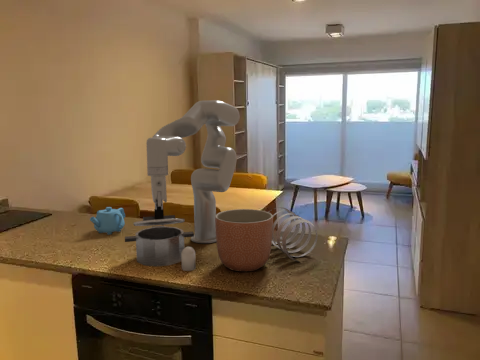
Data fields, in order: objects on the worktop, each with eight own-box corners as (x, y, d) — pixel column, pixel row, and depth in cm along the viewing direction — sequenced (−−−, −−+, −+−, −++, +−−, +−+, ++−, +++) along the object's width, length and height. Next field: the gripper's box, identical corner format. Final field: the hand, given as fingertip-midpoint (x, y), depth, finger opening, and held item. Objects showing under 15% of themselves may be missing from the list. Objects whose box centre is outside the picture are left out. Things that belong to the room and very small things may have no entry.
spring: (262, 244, 186) (290, 269, 158) (253, 211, 182) (281, 230, 154) (294, 232, 190) (327, 254, 162) (286, 200, 186) (318, 216, 158)
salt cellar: (194, 265, 157) (194, 244, 155) (196, 270, 152) (196, 248, 151) (180, 266, 155) (180, 245, 154) (182, 271, 151) (182, 249, 149)
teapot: (112, 224, 213) (111, 201, 211) (137, 229, 205) (135, 205, 203) (79, 234, 196) (77, 209, 194) (104, 240, 188) (103, 214, 186)
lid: (181, 223, 175) (181, 216, 175) (187, 220, 156) (186, 212, 157) (133, 226, 170) (133, 219, 170) (133, 223, 151) (133, 216, 152)
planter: (255, 253, 170) (255, 206, 167) (283, 270, 151) (284, 218, 148) (207, 261, 160) (206, 212, 157) (231, 281, 142) (230, 225, 139)
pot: (190, 246, 178) (189, 223, 177) (197, 262, 159) (196, 236, 158) (126, 251, 172) (124, 227, 170) (125, 269, 153) (124, 242, 151)
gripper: (169, 173, 150) (171, 223, 153) (166, 168, 164) (167, 214, 167) (148, 174, 148) (149, 225, 151) (146, 169, 163) (148, 215, 165)
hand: (159, 219), depth 159 cm, fingers closed
